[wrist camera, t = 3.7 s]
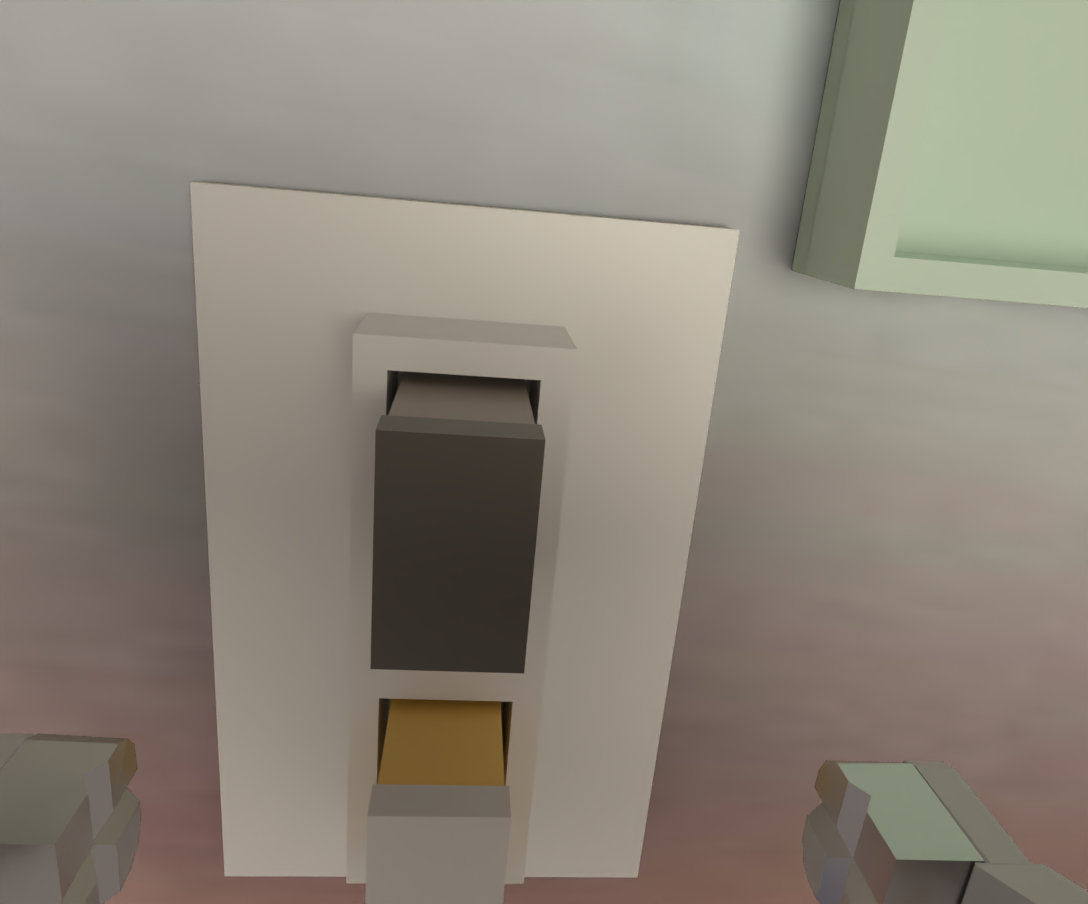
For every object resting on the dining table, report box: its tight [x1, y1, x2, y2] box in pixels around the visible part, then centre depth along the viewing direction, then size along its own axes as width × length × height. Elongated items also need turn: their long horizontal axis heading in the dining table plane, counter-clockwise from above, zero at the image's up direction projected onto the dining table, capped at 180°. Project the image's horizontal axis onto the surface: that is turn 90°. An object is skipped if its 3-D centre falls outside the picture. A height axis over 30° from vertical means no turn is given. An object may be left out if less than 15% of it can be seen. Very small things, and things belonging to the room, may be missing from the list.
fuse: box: [365, 699, 511, 904], centre depth 22 cm, size 3×5×7 cm, turn 175°
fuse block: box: [190, 182, 740, 884], centre depth 23 cm, size 14×22×4 cm, turn 175°
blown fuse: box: [370, 371, 545, 674], centre depth 19 cm, size 3×5×7 cm, turn 175°
